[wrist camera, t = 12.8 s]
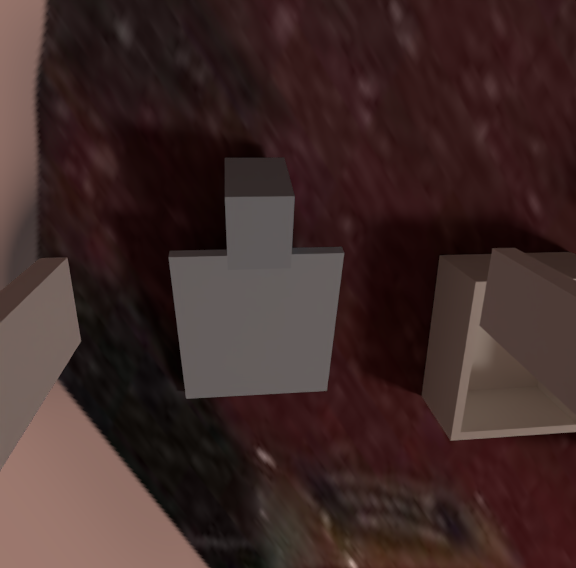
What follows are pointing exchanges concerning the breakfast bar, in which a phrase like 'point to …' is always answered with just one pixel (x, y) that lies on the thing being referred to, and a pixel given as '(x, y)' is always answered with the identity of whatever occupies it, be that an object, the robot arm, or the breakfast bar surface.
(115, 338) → the breakfast bar surface
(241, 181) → the grey tabbed block
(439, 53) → the breakfast bar surface
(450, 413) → the tub
